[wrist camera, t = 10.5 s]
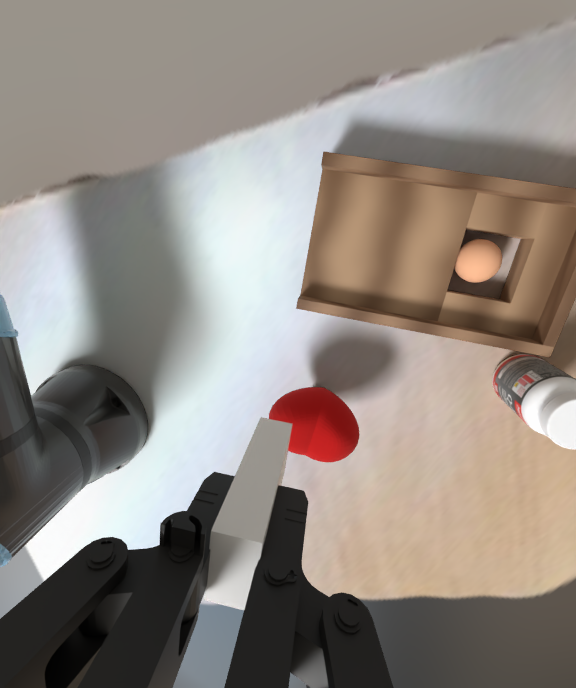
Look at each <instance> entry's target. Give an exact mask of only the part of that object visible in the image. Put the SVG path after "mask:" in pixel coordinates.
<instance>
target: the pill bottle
mask: <svg viewBox="0 0 576 688" xmlns="http://www.w3.org/2000/svg"><path fill="white" fill-rule="evenodd" d="M492 384H493V388H494V390H495V392H496V394H497V395H498V396H499V397H500V398H501V399H502V400H503V401H504V402H505V403H506V404H507V405H508V406H509V407H510V408H511V409H512V410H513V411H514V412H515V413H516V414H517V415H518V416H519V417H520V418H521V419H522V420H523V421H524V422H525V423H526V424H527V425H528V426H529V427H531V428H532V429H533V430H535V431H537V432H539V433H541V434H544V435H546V436H547V437H549V438H550V439H551V440H552V441H553V442H555V443H556V444H558V445H559V446H562V447H564V448H568V449H576V379H575V378H573V377H571V376H570V375H568V374H566V373H565V372H563V371H561V370H559V369H558V368H556V367H555V366H553V365H551V364H550V363H548V362H546V361H544V360H543V359H541V358H539V357H537V356H534V355H530V354H519V355H515V356H512V357H509V358H507V359H506V360H504V361H503V362H501V363H500V364H499V365H498V367H497V368H496V370H495V372H494V374H493V378H492Z"/></svg>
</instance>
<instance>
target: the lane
mask: <svg viewBox="0 0 576 688" xmlns="http://www.w3.org/2000/svg"><path fill="white" fill-rule="evenodd" d="M321 165H322V168H323V170H322V175H321V181H320V187H319V192H318V198H317V204H316V210H315V215H314V221H313V227H312V232H311V238H310V244H309V250H308V255H307V261H306V267H305V272H304V278H303V284H302V289H301V295H300V297H299V298H298V302H297V309H302V310H307V311H312V312H317V313H322V314H328V315H333V316H338V317H343V318H348V319H354V320H359V321H364V322H369V323H374V324H379V325H385V326H390V327H395V328H400V329H405V330H411V331H416V332H421V333H426V334H431V335H436V336H442V337H447V338H452V339H457V340H462V341H468V342H473V343H478V344H483V345H488V346H493V347H499V348H504V349H509V350H514V351H519V352H525V353H530V354H535V355H540V356H545V357H550V356H551V354H552V352H553V349H554V347H555V345H556V342H557V340H558V338H559V335H560V333H561V331H562V328H563V326H564V324H565V321H566V319H567V317H568V314H569V312H570V310H571V307H572V305H573V303H574V300H575V298H576V189H574V188H567V187H560V186H554V185H547V184H540V183H533V182H526V181H520V180H513V179H506V178H499V177H492V176H486V175H479V174H472V173H465V172H458V171H452V170H445V169H438V168H431V167H424V166H418V165H411V164H404V163H397V162H390V161H384V160H377V159H370V158H363V157H356V156H350V155H343V154H336V153H329V152H323V158H322V164H321ZM466 230H470V231H477V232H483V233H489V234H495V235H501V236H507V237H513V238H520V239H521V240H520V243H519V246H518V249H517V252H516V254H515V257H514V260H513V263H512V266H511V268H510V271H509V274H508V277H507V279H506V282H505V285H504V288H503V291H502V293H501V296H500V299H495V298H490V297H484V296H479V295H473V294H468V293H462V292H457V291H451V290H447V289H448V286H449V283H450V280H451V276H452V273H453V270H454V267H455V263H456V260H457V257H458V254H459V250H460V247H461V244H462V241H463V238H464V234H465V231H466Z"/></svg>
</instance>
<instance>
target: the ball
mask: <svg viewBox="0 0 576 688" xmlns="http://www.w3.org/2000/svg"><path fill="white" fill-rule="evenodd" d="M501 263H502V253H501V251H500V249H499V247H498V246H497V245H496V244H495V243H493V242H491V241H489V240H485V239H477V240H473V241H470V242H468V243H466V244H465V245H463V246H462V247H461V248H460V250H459V254H458V257H457V260H456V263H455V271H456V273H457V274H458V275H459V276H460V277H461V278H462V279H464V280H466V281H468V282H483V281H486V280H488V279H490V278H491V277H493V276H494V275H495V274H496V273H497V272H498V270H499V268H500V266H501Z"/></svg>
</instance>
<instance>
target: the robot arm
mask: <svg viewBox="0 0 576 688" xmlns="http://www.w3.org/2000/svg"><path fill="white" fill-rule="evenodd" d="M17 336H18V331H17V330H15V329H14V328H13V325H12V322H11V318H10V315H9V312H8V309H7V306H6V303H5V300H4V298H3V296H2V295H1V294H0V567H2V566H4V565H6V564H7V563H8V561H9V560H11V558H12V557H13V556H14V555H15V554H16V553H17V552H18V551H19V550H20V549H21V548H22V547H23V546H24V545H25V544H26V543H27V542H29V541H30V540H31V539H32V538H33V537H34V536H35V535H36V534H37V533H38V532H39V531H40V530H41V529H42V528H43V527H44V526H45V525H46V524H47V523H48V522H49V521H50V520H51V519H52V518H53V517H54V516H55V515H56V514H57V513H58V512H59V511H60V510H61V509H62V508H63V507H64V506H65V505H66V504H67V503H68V502H69V501H70V500H71V499H72V498H73V497H74V496H75V495H76V494H77V493H78V492H79V491H80V490H81V489H83V488H84V487H85V486H86V485H87V484H89V483H92V482H94V481H96V480H97V479H99V478H101V477H103V476H104V475H106V474H108V473H112V472H114V471H117V470H119V469H121V468H122V467H124V466H125V465H126V464H128V463H129V462H130V461H131V460H132V459H133V458H134V457H135V456H136V455H137V454H138V453H139V451H140V450H141V449H142V447H143V445H144V443H145V441H146V437H147V431H148V423H147V417H146V413H145V410H144V407H143V405H142V403H141V401H140V399H139V398H138V396H137V394H136V393H135V392H134V391H133V389H132V388H131V387H130V386H129V385H128V384H127V383H126V382H125V381H124V380H122V379H121V378H120V377H118V376H117V375H115V374H114V373H112V372H110V371H108V370H106V369H103V368H100V367H96V366H91V365H77V366H72V367H69V368H67V369H64V370H62V371H60V372H58V373H56V374H54V375H52V376H50V377H49V378H47V379H46V380H45V381H44V382H43V383H42V384H41V385H40V386H39V387H38V389H37V390H36V392H35V393H34V394H33V395H30V391H29V387H28V383H27V379H26V375H25V371H24V367H23V363H22V359H21V355H20V351H19V347H18V343H17V339H16V337H17ZM291 429H292V424H291V423H286V422H281V421H276V420H271V419H267V418H262V417H261V418H260V420H259V423H258V425H257V427H256V429H255V432H254V434H253V436H252V439H251V441H250V443H249V445H248V448H247V450H246V452H245V455H244V457H243V459H242V461H241V464H240V466H239V468H238V471H237V473H236V475H235V476H230V475H226V474H221V473H217V472H214V473H212V474H211V475H210V476H209V477H207V478H206V479H205V480H204V481H203V483H202V485H201V487H200V488H199V491H198V492H197V494H196V496H195V497H194V500H193V501H192V503H191V505H190V506H189V508H188V510H187V511H181V512H177V513H174V514H172V515H170V516H168V517H167V518H166V519H165V520H164V521H163V522H162V523H161V525H160V545H158V546H156V547H153V548H147V549H135V550H128V549H127V545H126V544H125V543H124V542H123V541H122V540H121V539H118V538H114V537H108V538H101V539H98V540H95V541H93V542H91V543H90V544H88V545H87V546H85V547H84V548H83V549H82V550H80V551H79V552H78V553H77V554H76V555H74V556H73V557H72V558H71V559H70V560H69V561H67V562H66V563H65V564H64V565H63V566H62V567H60V568H59V569H58V570H57V571H56V572H55V573H53V574H52V575H51V576H50V577H49V578H48V579H46V580H45V581H44V582H43V583H42V584H41V585H39V586H38V587H37V588H36V589H35V590H34V591H32V592H31V593H30V594H29V595H28V596H27V597H25V598H24V599H23V600H22V601H21V602H20V603H18V604H17V605H16V606H15V607H14V608H12V609H11V610H10V611H9V612H8V613H7V614H6V615H4V616H3V617H2V618H1V619H0V688H172V687H173V685H174V682H175V679H176V677H177V674H178V671H179V668H180V665H181V663H182V660H183V658H184V655H185V652H186V649H187V647H188V643H189V641H190V639H191V636H192V633H193V630H194V628H195V625H196V622H197V619H198V613H199V605H200V603H201V600H202V597H203V595H204V592H205V597H204V600H206V601H210V602H214V603H218V604H222V605H225V606H230V607H233V608H237V609H241V610H244V613H243V618H242V622H241V625H240V629H239V633H238V637H237V641H236V645H235V649H234V653H233V657H232V661H231V664H230V669H229V672H228V676H227V680H226V684H225V688H288V686H289V678H290V672H291V673H292V674H293V675H295V676H296V677H298V678H299V679H300V680H301V681H303V682H304V683H305V684H306V687H307V688H393V685H392V682H391V678H390V676H389V672H388V668H387V665H386V662H385V659H384V656H383V652H382V649H381V645H380V642H379V639H378V636H377V632H376V629H375V626H374V622H373V619H372V617H371V615H370V613H369V610H368V609H367V607H366V606H365V605H364V604H363V603H362V602H361V601H360V600H359V599H358V598H356V597H354V596H353V595H351V594H346V593H337V594H333V595H332V596H330V597H328V596H326V595H325V594H323V593H322V592H320V591H318V590H317V589H316V588H314V587H313V586H312V585H311V584H310V583H309V582H308V580H307V579H306V577H305V575H304V573H303V570H302V561H301V560H302V552H303V543H304V534H305V526H306V517H307V508H308V500H307V498H306V495H305V492H304V491H302V490H298V489H293V488H289V487H284V486H281V484H282V480H283V475H284V470H285V465H286V459H287V453H288V447H289V441H290V435H291Z"/></svg>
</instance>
